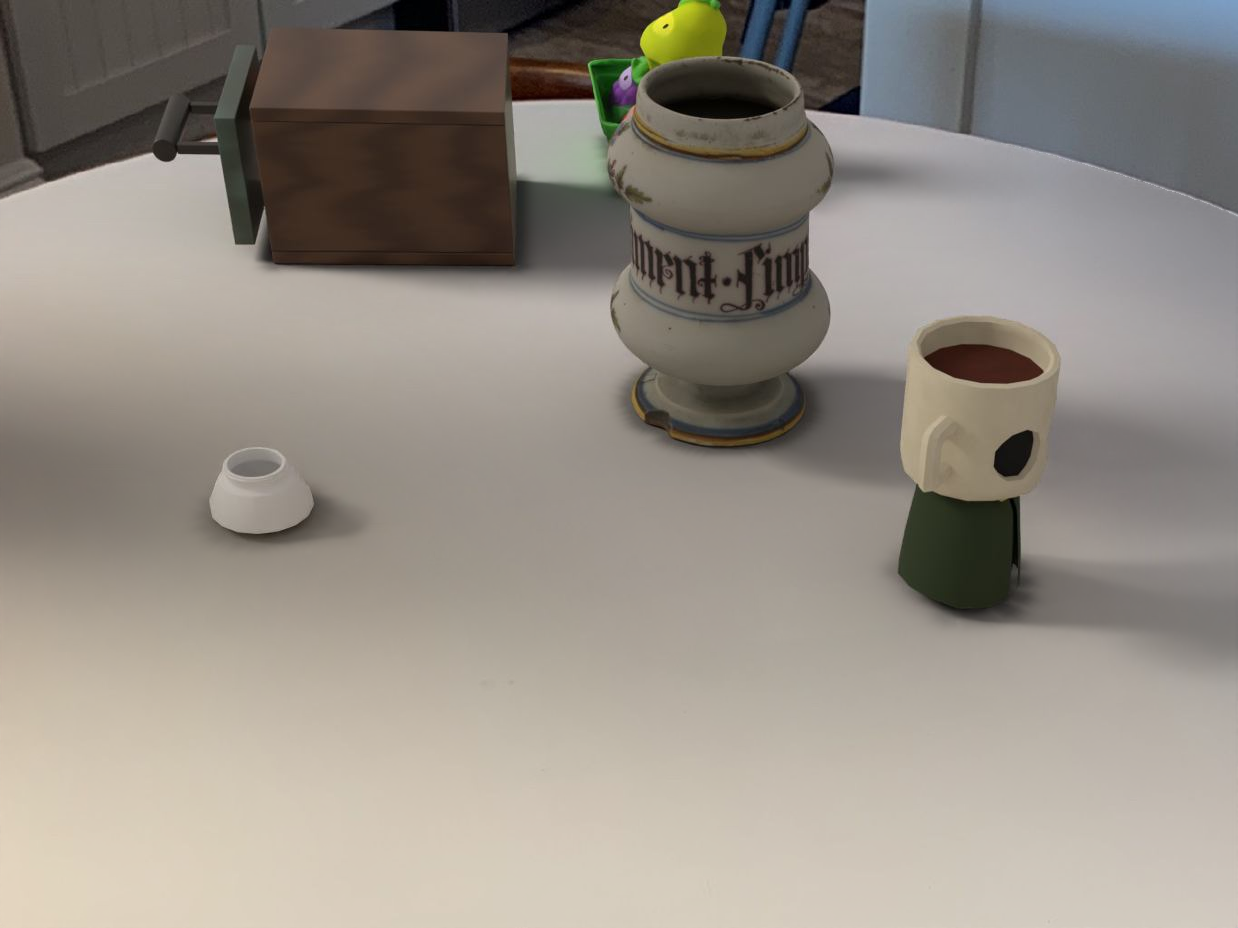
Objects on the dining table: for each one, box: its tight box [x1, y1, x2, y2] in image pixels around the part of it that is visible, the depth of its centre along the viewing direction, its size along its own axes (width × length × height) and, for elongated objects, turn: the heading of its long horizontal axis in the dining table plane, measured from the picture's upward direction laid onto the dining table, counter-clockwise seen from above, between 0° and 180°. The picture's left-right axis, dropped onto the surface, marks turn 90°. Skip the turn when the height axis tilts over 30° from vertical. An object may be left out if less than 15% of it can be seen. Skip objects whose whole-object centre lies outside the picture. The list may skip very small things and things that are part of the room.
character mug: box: [897, 314, 1062, 609], centre depth 92 cm, size 11×7×13 cm, turn 151°
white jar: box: [208, 446, 315, 535], centre depth 96 cm, size 5×3×5 cm
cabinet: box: [249, 27, 518, 266], centre depth 119 cm, size 15×13×10 cm
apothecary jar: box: [605, 55, 835, 447], centre depth 102 cm, size 12×12×18 cm
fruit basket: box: [587, 0, 728, 145], centre depth 127 cm, size 11×9×11 cm
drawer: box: [151, 44, 265, 246], centre depth 118 cm, size 18×11×8 cm, turn 97°
